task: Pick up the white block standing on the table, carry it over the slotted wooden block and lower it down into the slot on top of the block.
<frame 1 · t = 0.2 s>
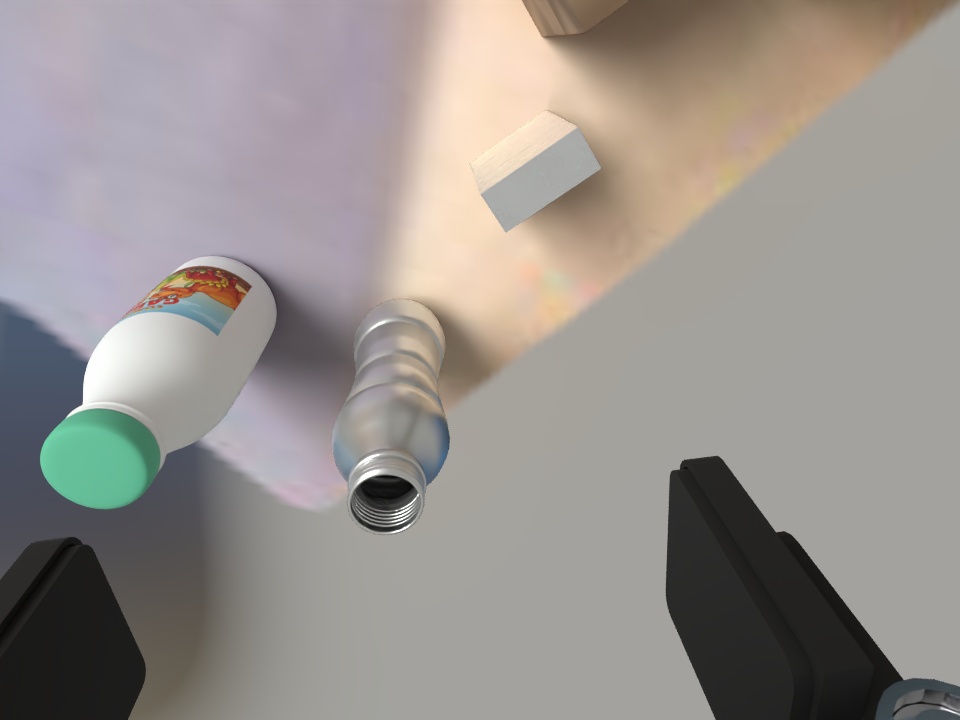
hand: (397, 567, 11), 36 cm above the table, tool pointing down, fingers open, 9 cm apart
white block: (516, 153, 43), on the table
milk bottle: (224, 304, 46), on the table
plastic bottle: (401, 331, 48), on the table
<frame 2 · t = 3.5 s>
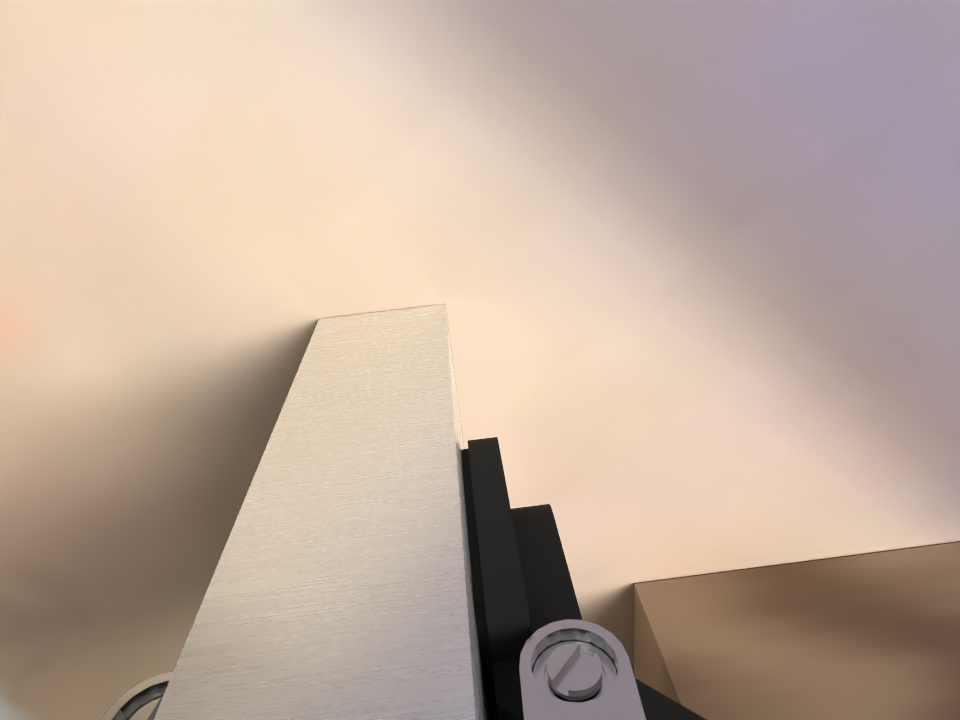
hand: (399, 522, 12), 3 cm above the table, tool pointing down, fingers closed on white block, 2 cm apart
white block: (404, 440, 14), on the table, touching gripper
slotted wooden block: (804, 691, 19), on the table
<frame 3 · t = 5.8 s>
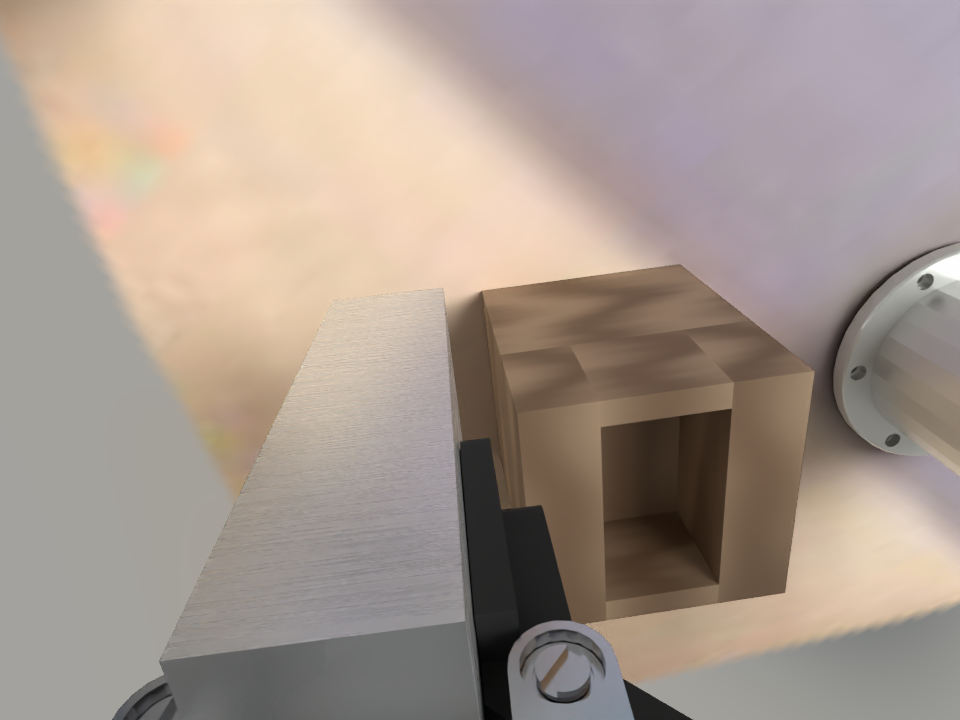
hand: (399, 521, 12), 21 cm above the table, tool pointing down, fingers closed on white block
white block: (407, 412, 16), point 16 cm above the table, touching gripper
slotted wooden block: (585, 367, 34), on the table
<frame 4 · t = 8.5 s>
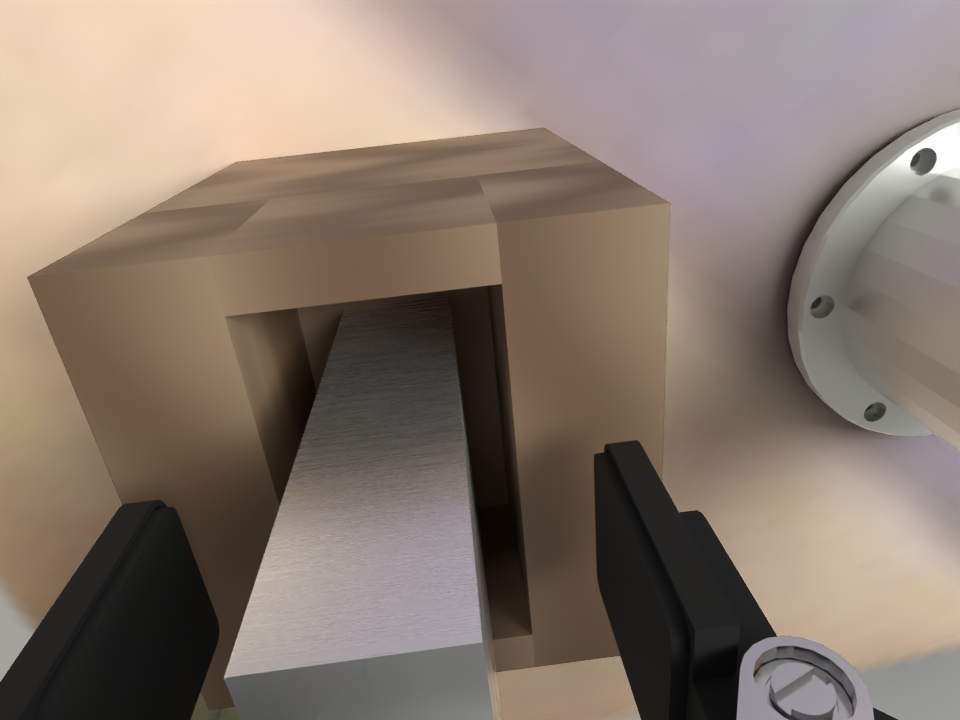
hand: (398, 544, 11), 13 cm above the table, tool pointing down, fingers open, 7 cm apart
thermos: (263, 585, 28), on the table
white block: (415, 411, 17), point 7 cm above the table, touching slotted wooden block
slotted wooden block: (413, 290, 23), on the table
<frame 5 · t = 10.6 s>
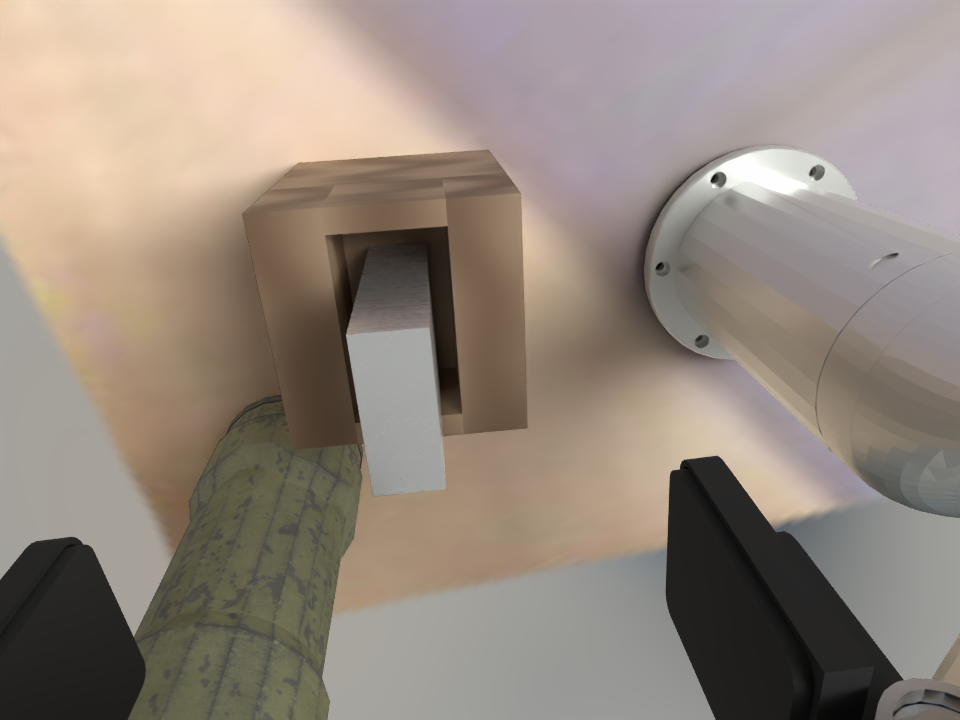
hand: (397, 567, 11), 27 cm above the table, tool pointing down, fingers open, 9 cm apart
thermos: (293, 452, 41), on the table
white block: (405, 307, 30), point 7 cm above the table, touching slotted wooden block
slotted wooden block: (404, 248, 36), on the table
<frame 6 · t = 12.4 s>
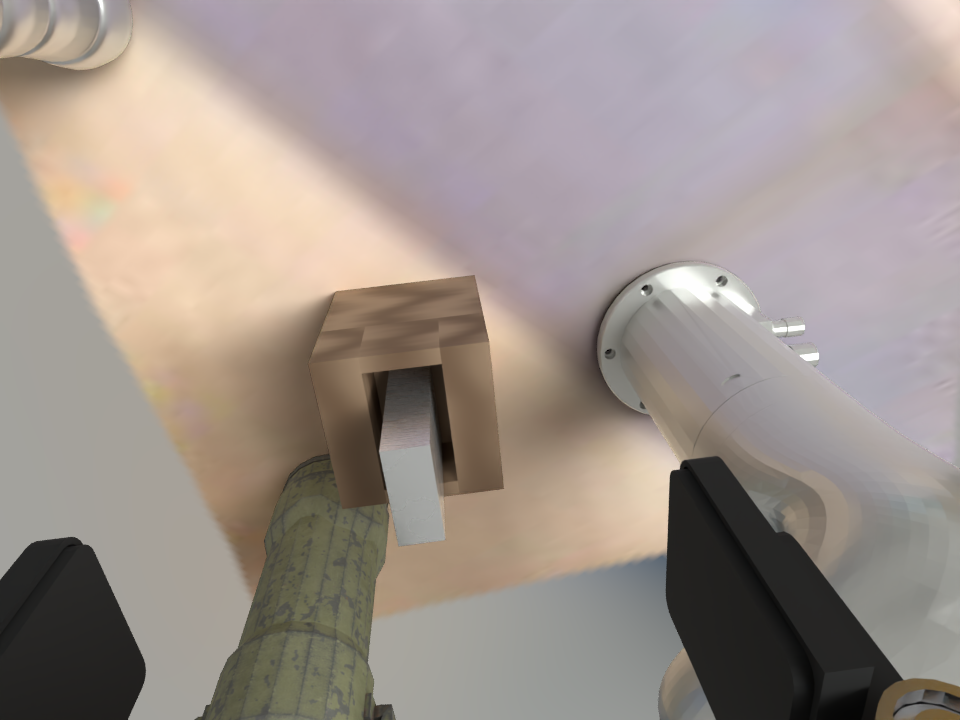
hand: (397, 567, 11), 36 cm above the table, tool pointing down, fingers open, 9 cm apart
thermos: (335, 496, 54), on the table
white block: (416, 402, 42), point 7 cm above the table, touching slotted wooden block
slotted wooden block: (415, 346, 48), on the table
plastic bottle: (87, 7, 38), on the table
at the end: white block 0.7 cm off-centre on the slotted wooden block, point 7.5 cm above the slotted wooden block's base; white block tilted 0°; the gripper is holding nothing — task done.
